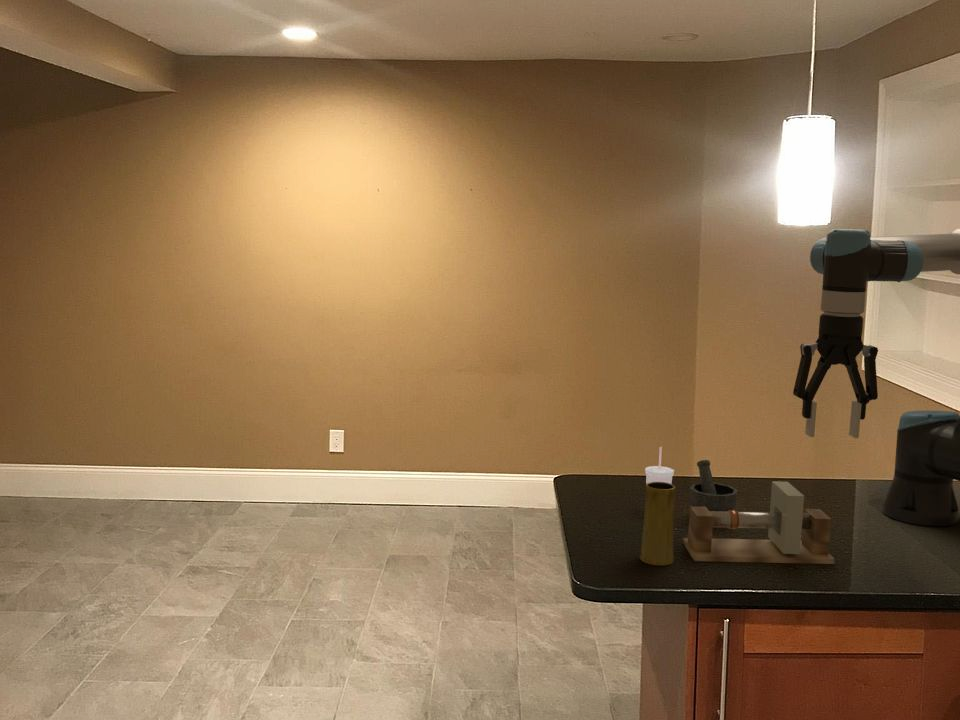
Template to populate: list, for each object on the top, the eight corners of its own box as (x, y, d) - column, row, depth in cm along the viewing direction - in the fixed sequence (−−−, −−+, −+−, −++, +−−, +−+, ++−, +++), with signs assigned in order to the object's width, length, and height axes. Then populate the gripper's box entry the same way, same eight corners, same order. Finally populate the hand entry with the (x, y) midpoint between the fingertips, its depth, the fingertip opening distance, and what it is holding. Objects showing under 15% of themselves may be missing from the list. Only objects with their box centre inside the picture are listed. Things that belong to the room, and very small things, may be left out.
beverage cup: (677, 511, 211) (681, 448, 209) (657, 516, 208) (660, 451, 206) (657, 504, 216) (660, 442, 214) (637, 508, 213) (640, 445, 211)
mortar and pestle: (743, 526, 202) (747, 470, 200) (702, 529, 200) (706, 472, 198) (717, 510, 213) (720, 456, 211) (677, 512, 210) (680, 458, 208)
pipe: (815, 527, 188) (817, 509, 187) (822, 533, 184) (823, 515, 184) (695, 524, 187) (696, 507, 187) (699, 530, 184) (701, 512, 183)
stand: (815, 545, 192) (818, 506, 190) (834, 564, 182) (837, 522, 180) (682, 542, 191) (685, 503, 190) (694, 561, 181) (696, 519, 180)
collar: (783, 536, 191) (787, 481, 189) (799, 554, 182) (804, 496, 180) (767, 536, 191) (772, 481, 189) (783, 553, 182) (788, 495, 180)
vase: (666, 568, 177) (670, 492, 175) (634, 561, 180) (638, 486, 178) (678, 559, 182) (682, 484, 180) (647, 552, 185) (651, 479, 183)
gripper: (888, 313, 184) (878, 432, 187) (779, 310, 183) (771, 430, 187) (906, 317, 176) (894, 441, 180) (792, 314, 176) (783, 439, 179)
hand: (831, 435), depth 183 cm, fingers open, 8 cm apart
